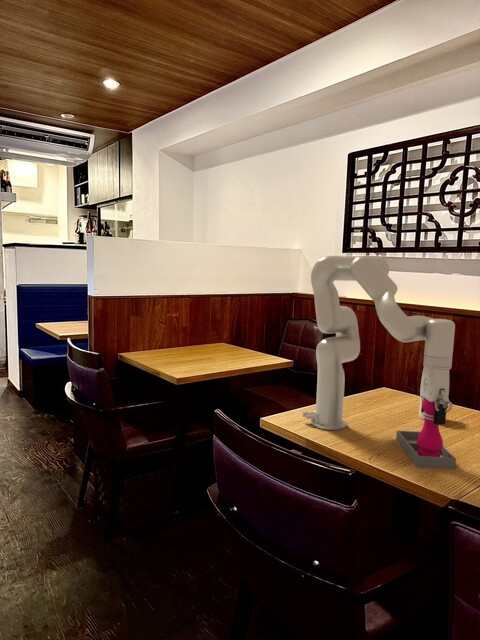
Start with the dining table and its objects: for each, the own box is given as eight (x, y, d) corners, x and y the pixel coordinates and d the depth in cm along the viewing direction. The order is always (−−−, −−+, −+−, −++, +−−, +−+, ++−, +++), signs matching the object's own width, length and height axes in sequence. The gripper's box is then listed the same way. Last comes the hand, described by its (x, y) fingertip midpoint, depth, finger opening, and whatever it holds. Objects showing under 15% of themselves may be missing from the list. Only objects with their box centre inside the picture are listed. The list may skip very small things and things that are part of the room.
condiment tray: (417, 467, 130) (417, 456, 130) (396, 439, 151) (396, 430, 151) (455, 468, 130) (456, 458, 130) (428, 440, 151) (429, 431, 150)
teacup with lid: (421, 421, 170) (424, 391, 168) (415, 413, 179) (417, 384, 177) (455, 423, 168) (458, 393, 167) (446, 415, 177) (449, 386, 176)
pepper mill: (444, 463, 131) (450, 396, 129) (417, 460, 133) (423, 394, 130) (438, 453, 138) (444, 389, 136) (413, 450, 140) (418, 387, 137)
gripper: (414, 355, 141) (410, 408, 143) (435, 367, 123) (430, 428, 126) (439, 356, 140) (434, 409, 142) (463, 369, 123) (458, 429, 125)
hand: (432, 418), depth 134 cm, fingers open, 9 cm apart
